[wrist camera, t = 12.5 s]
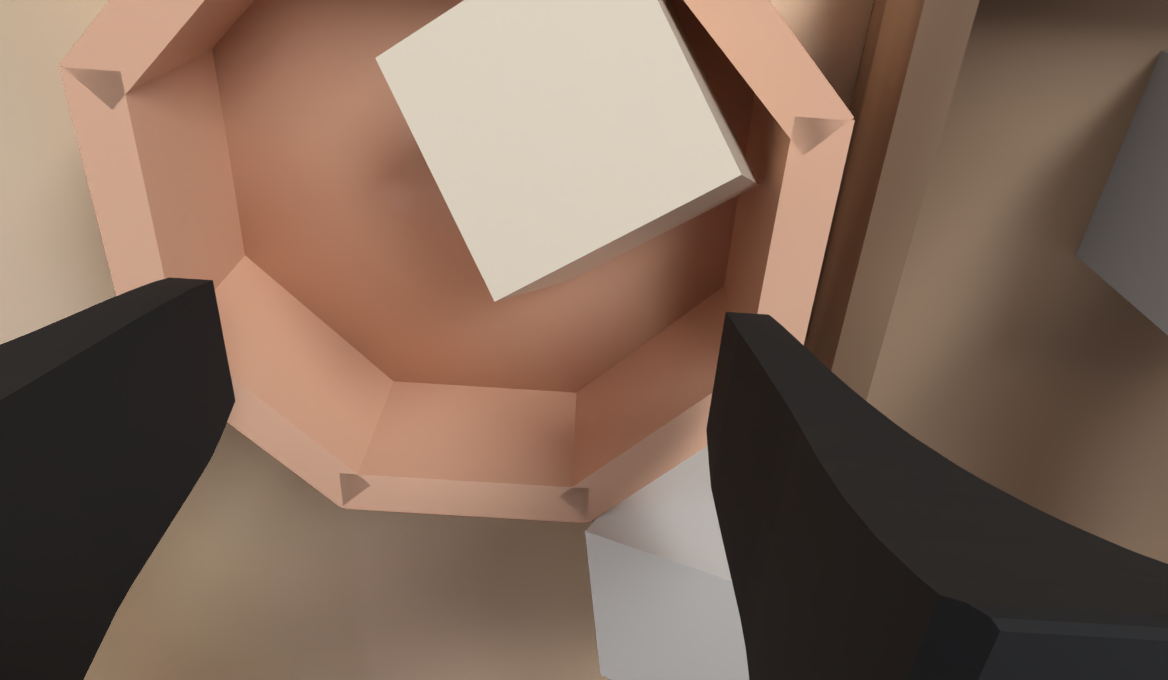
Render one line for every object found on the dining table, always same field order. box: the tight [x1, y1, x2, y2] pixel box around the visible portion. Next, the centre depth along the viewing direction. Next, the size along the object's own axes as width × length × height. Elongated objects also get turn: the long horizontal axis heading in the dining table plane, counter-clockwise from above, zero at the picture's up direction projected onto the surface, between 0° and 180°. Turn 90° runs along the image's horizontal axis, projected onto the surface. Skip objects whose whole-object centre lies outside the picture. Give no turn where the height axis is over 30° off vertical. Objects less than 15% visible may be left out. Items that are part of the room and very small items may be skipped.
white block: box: [585, 446, 749, 680], centre depth 16 cm, size 3×4×3 cm
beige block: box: [375, 0, 759, 302], centre depth 12 cm, size 3×4×3 cm
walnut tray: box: [804, 0, 1168, 564], centre depth 16 cm, size 12×16×2 cm
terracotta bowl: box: [59, 0, 855, 523], centre depth 14 cm, size 10×10×4 cm
